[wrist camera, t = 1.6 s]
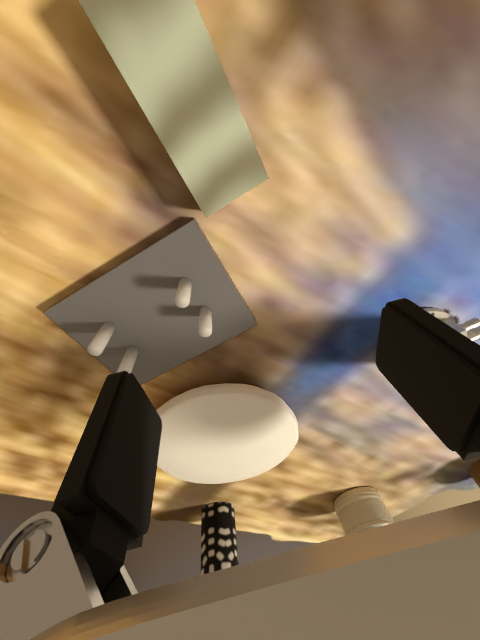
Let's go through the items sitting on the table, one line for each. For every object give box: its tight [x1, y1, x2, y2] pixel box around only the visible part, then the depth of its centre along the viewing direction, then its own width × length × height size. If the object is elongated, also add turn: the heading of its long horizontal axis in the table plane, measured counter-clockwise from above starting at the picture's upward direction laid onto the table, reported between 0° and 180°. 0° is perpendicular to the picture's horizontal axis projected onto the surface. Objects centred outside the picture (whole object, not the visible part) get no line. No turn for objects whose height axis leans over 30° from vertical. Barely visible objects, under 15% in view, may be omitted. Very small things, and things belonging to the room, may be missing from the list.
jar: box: [334, 487, 394, 536], centre depth 63 cm, size 13×13×18 cm
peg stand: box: [44, 218, 257, 385], centre depth 32 cm, size 22×16×6 cm
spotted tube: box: [201, 502, 238, 575], centre depth 57 cm, size 8×8×20 cm
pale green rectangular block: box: [78, 0, 269, 217], centre depth 22 cm, size 16×7×5 cm, turn 29°
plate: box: [156, 383, 298, 484], centre depth 46 cm, size 28×6×27 cm
